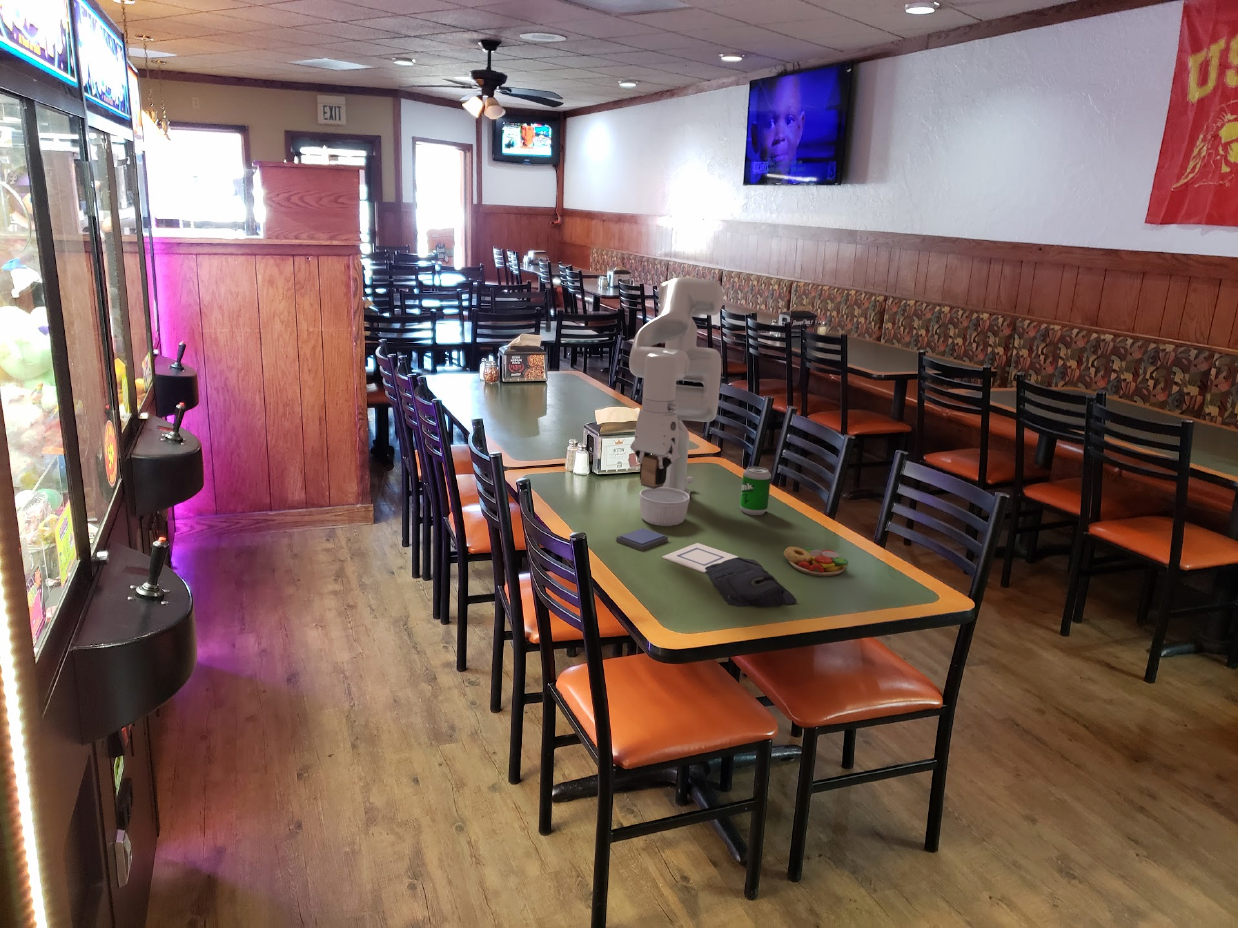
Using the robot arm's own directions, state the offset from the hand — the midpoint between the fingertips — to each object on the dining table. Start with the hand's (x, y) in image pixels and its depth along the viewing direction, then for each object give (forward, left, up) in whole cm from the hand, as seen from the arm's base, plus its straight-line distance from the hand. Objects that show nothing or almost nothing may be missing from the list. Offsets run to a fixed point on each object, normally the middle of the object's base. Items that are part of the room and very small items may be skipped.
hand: (652, 480), depth 211 cm
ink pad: (+1, -1, -15) cm, 15 cm away
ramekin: (-16, -8, -16) cm, 24 cm away
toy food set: (-18, +36, -16) cm, 43 cm away
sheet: (-1, +15, -15) cm, 22 cm away
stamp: (0, 0, -1) cm, 1 cm away
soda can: (-41, +4, -16) cm, 44 cm away
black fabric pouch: (+5, +32, -16) cm, 36 cm away
